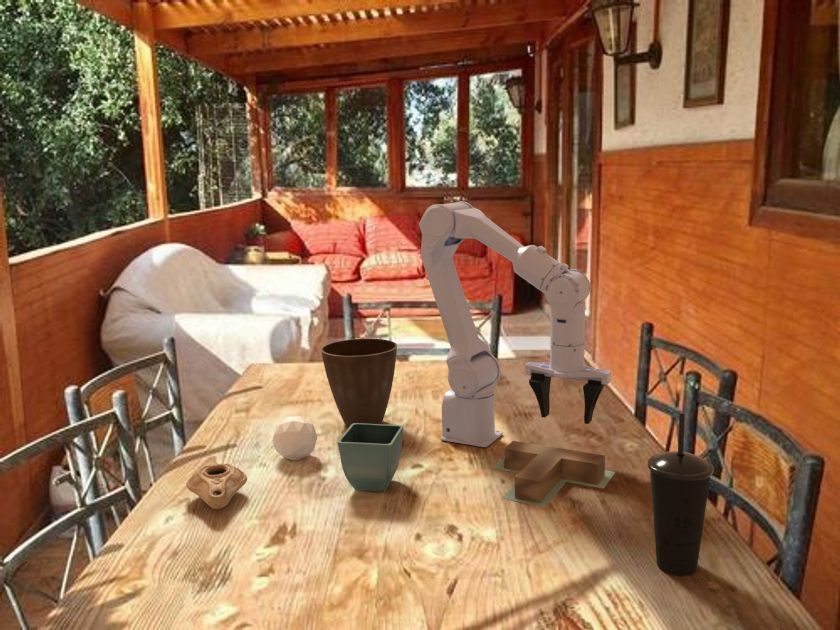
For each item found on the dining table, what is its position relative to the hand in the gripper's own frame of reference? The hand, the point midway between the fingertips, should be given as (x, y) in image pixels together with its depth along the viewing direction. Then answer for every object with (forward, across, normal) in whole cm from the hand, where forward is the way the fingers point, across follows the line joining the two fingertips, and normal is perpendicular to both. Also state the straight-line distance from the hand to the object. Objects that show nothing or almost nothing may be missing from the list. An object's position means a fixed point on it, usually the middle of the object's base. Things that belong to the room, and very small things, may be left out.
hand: (566, 418), depth 130 cm
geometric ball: (+7, -43, -21) cm, 48 cm away
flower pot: (+7, -24, -25) cm, 35 cm away
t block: (+7, +1, -13) cm, 14 cm away
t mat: (+7, 0, -12) cm, 14 cm away
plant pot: (+7, -42, -1) cm, 43 cm away
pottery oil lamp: (+7, -43, -41) cm, 60 cm away
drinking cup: (+7, +24, -29) cm, 38 cm away
